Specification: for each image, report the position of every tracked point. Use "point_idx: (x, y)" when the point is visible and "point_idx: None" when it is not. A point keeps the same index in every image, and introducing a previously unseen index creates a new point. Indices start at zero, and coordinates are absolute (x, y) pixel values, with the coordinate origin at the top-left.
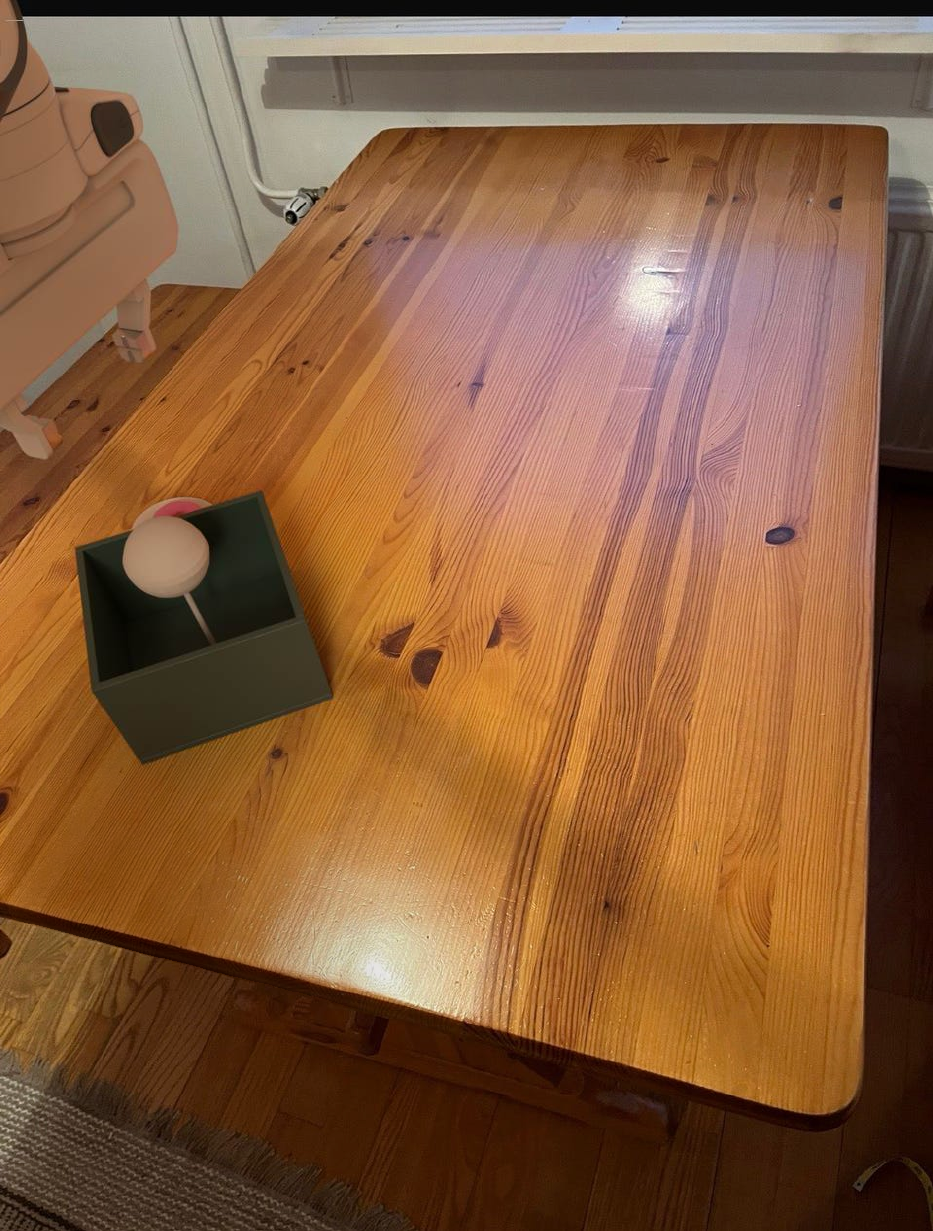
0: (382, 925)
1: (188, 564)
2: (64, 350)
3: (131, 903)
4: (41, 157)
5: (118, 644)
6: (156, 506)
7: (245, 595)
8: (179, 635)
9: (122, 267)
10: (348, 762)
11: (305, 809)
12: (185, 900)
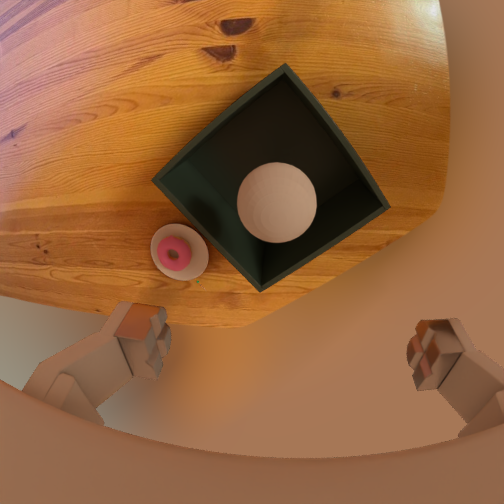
0: (414, 9)
1: (290, 171)
2: (415, 456)
3: (438, 145)
4: None
5: None
6: (168, 274)
7: (216, 175)
8: None
9: (40, 478)
10: (328, 46)
11: (368, 63)
12: (432, 115)
